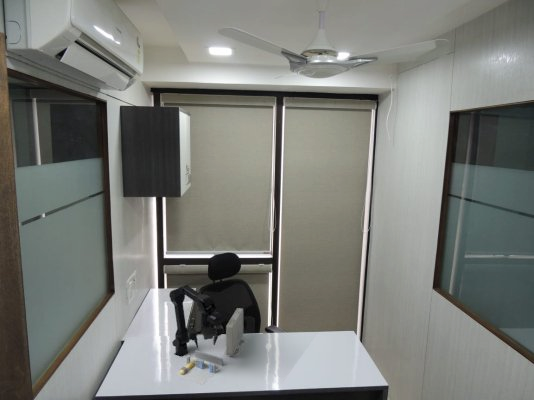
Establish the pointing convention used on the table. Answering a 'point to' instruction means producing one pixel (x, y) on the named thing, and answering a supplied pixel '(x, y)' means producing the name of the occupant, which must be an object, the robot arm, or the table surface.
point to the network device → (234, 333)
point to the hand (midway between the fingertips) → (205, 346)
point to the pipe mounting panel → (201, 367)
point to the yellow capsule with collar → (187, 368)
